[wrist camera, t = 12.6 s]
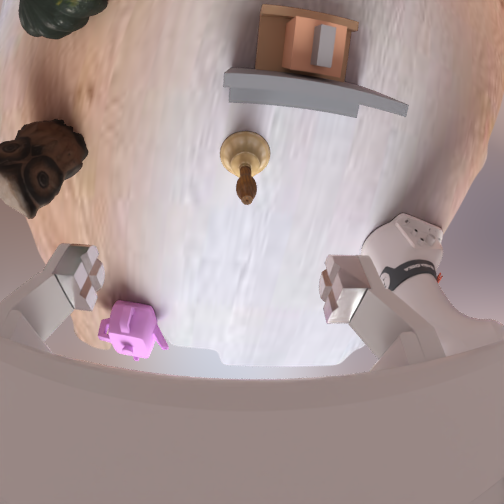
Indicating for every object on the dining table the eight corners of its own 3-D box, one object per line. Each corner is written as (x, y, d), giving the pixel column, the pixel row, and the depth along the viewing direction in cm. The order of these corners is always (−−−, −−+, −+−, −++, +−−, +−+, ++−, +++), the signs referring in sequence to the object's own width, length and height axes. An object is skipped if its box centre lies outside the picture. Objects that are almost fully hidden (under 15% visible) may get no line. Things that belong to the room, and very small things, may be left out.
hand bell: (229, 124, 40) (223, 159, 28) (277, 141, 43) (292, 184, 30) (213, 167, 45) (201, 219, 33) (258, 182, 48) (264, 237, 35)
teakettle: (130, 289, 65) (117, 328, 56) (176, 322, 75) (170, 360, 65) (100, 309, 72) (88, 344, 62) (142, 337, 81) (135, 371, 71)
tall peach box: (328, 30, 28) (356, 24, 19) (322, 73, 32) (348, 80, 24) (286, 23, 27) (301, 12, 19) (281, 66, 32) (294, 70, 23)
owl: (38, 115, 35) (-34, 161, 19) (89, 108, 36) (15, 152, 21) (47, 172, 43) (-11, 232, 28) (95, 171, 44) (38, 237, 29)
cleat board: (366, 30, 29) (421, 28, 17) (352, 115, 39) (397, 147, 27) (236, 9, 28) (231, -17, 15) (229, 100, 38) (221, 124, 26)
